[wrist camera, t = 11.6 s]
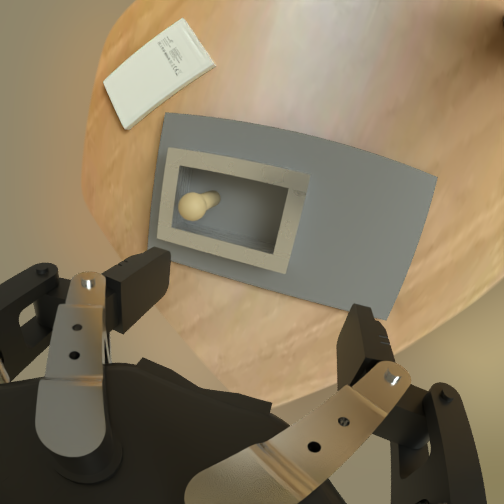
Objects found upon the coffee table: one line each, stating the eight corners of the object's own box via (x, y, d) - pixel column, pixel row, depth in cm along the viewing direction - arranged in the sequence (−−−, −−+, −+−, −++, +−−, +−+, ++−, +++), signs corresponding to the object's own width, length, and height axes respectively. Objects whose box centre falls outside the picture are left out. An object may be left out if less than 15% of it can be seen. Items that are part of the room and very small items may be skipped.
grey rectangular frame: (311, 173, 25) (310, 175, 22) (288, 262, 28) (285, 274, 26) (182, 147, 27) (168, 147, 24) (170, 230, 30) (156, 238, 27)
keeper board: (433, 176, 23) (467, 183, 16) (384, 314, 29) (397, 355, 22) (170, 113, 27) (131, 105, 20) (152, 250, 33) (115, 273, 26)
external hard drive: (109, 82, 28) (187, 21, 24) (132, 130, 29) (218, 67, 25) (101, 80, 26) (181, 16, 22) (123, 129, 28) (213, 63, 24)
